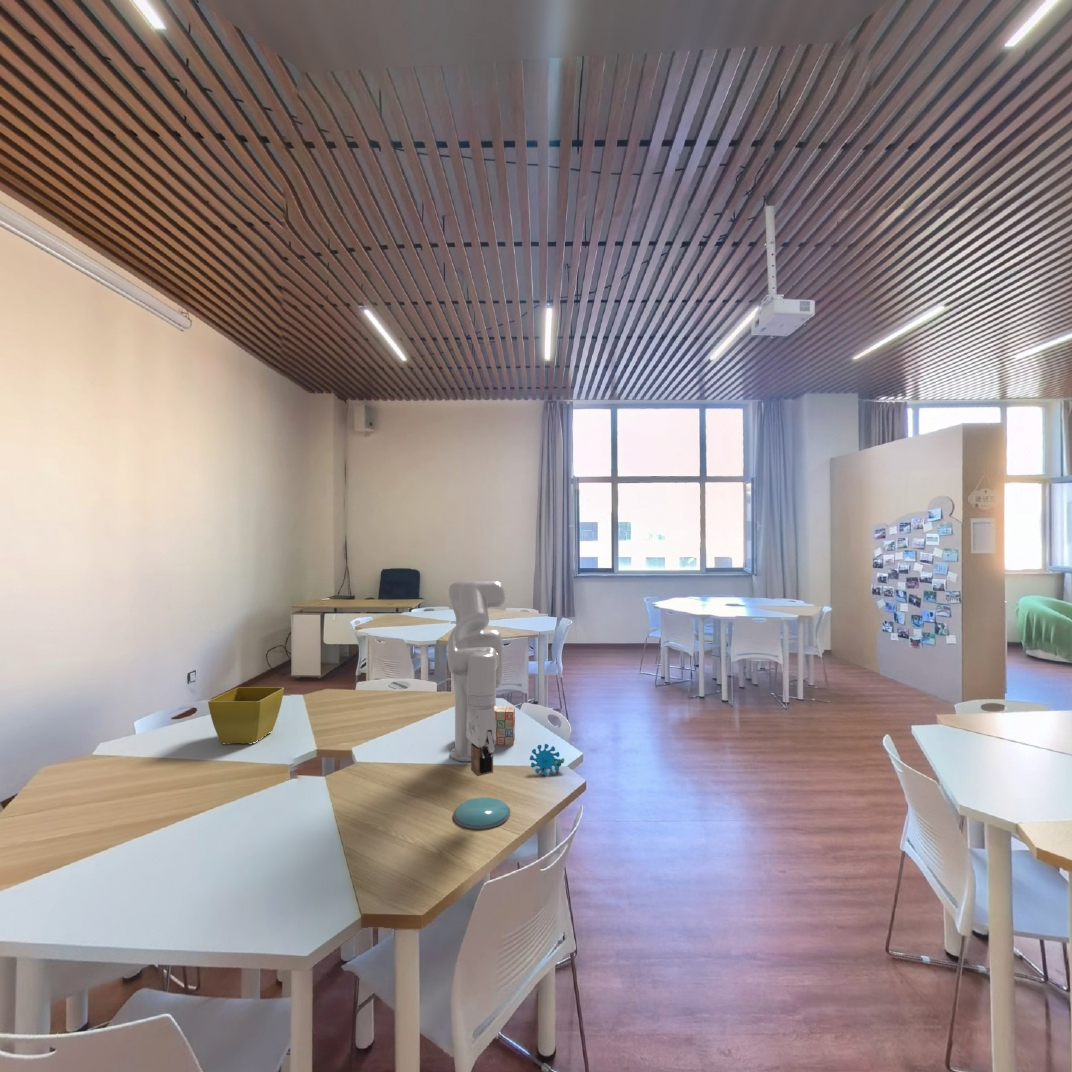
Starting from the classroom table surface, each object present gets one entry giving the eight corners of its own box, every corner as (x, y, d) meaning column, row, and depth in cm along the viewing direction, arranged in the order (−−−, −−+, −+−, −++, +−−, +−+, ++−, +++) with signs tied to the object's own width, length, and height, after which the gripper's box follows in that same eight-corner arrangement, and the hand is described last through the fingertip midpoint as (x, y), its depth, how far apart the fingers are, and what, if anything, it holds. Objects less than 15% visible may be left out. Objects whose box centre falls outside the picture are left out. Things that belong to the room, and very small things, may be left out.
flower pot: (258, 748, 187) (258, 701, 187) (205, 748, 187) (206, 701, 188) (284, 730, 206) (285, 687, 206) (237, 730, 206) (237, 687, 207)
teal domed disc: (445, 809, 142) (445, 804, 142) (496, 796, 149) (496, 792, 149) (465, 835, 129) (465, 830, 129) (519, 820, 136) (519, 815, 136)
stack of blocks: (454, 745, 189) (454, 710, 190) (458, 738, 196) (458, 705, 196) (513, 745, 188) (513, 711, 189) (515, 739, 195) (515, 706, 195)
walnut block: (470, 770, 140) (470, 743, 140) (486, 766, 142) (486, 740, 142) (477, 776, 136) (477, 749, 136) (493, 772, 138) (493, 745, 138)
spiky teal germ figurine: (528, 771, 162) (531, 740, 169) (526, 779, 166) (530, 748, 173) (563, 776, 162) (565, 745, 169) (561, 784, 166) (563, 753, 173)
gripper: (457, 694, 145) (457, 760, 145) (480, 709, 131) (481, 783, 130) (482, 690, 149) (482, 755, 148) (508, 705, 134) (508, 777, 134)
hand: (481, 767), depth 139 cm, fingers closed on walnut block, 4 cm apart
